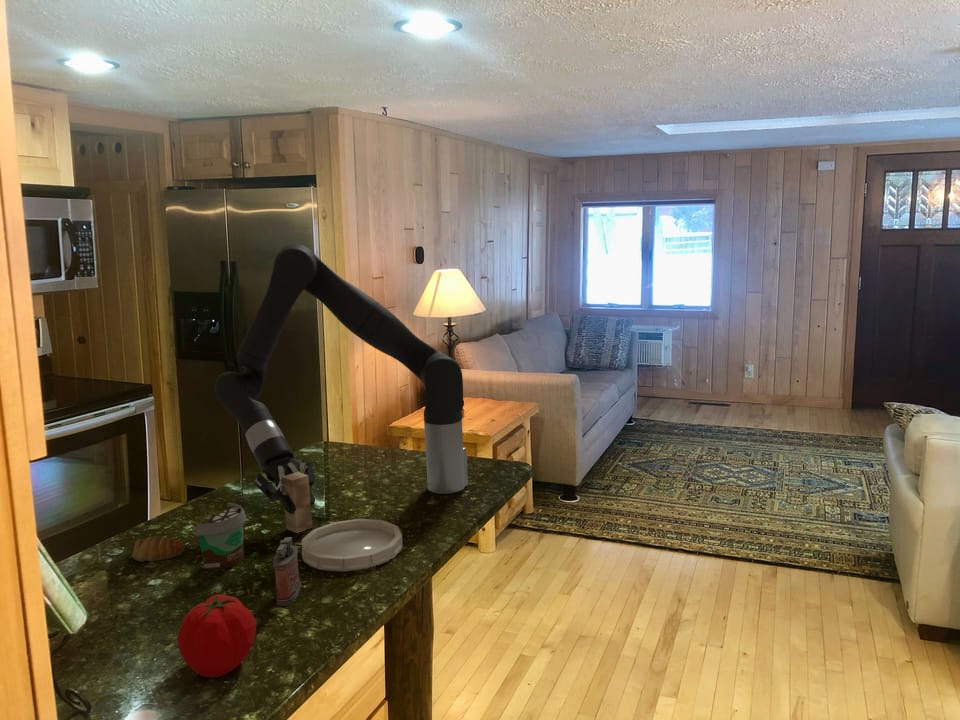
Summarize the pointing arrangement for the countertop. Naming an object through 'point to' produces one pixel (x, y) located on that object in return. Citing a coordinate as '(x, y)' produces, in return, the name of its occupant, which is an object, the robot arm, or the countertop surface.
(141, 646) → the countertop surface
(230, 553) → the food container
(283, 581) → the lighter
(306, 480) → the oak block
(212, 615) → the tomato
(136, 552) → the pastry
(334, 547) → the round dish
